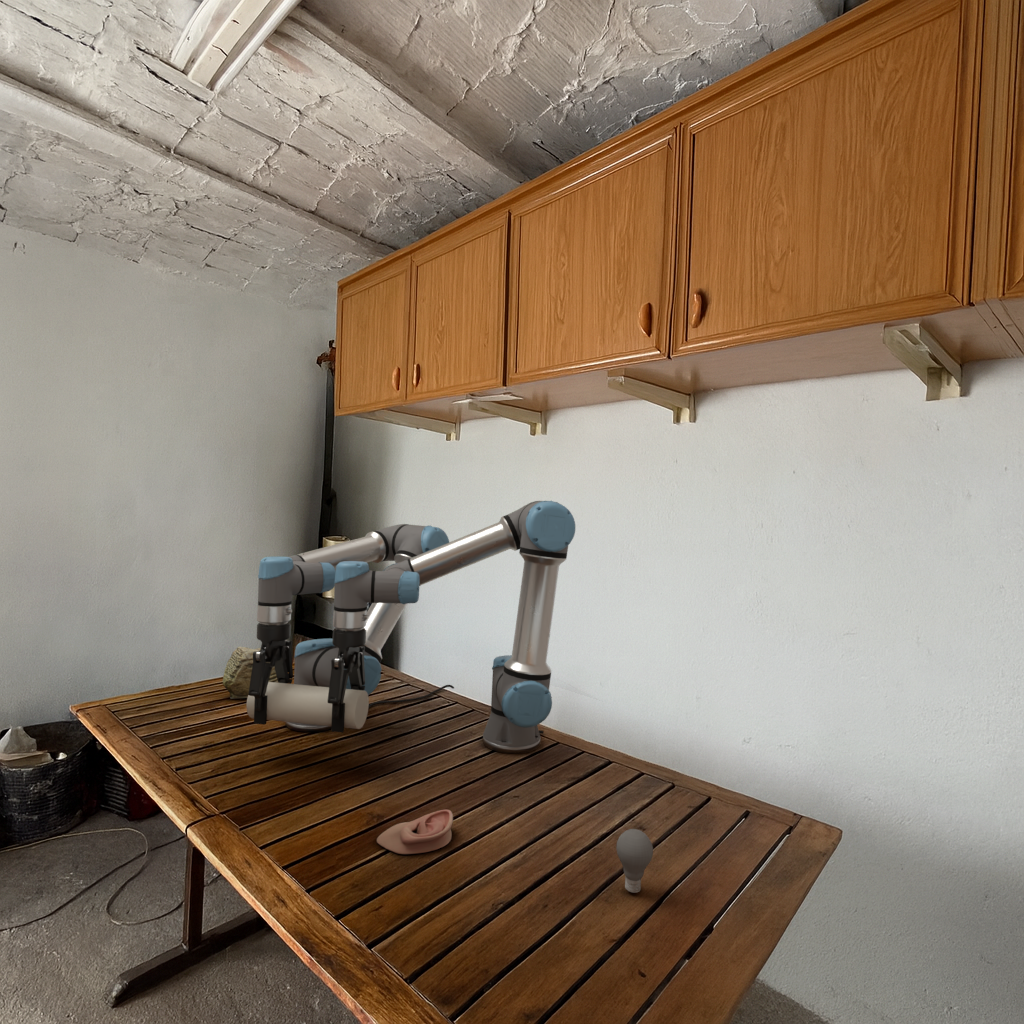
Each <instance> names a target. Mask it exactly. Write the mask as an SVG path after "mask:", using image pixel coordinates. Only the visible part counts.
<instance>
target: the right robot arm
mask: <svg viewBox="0 0 1024 1024" xmlns="http://www.w3.org/2000/svg"><path fill="white" fill-rule="evenodd" d="M575 534H576V521H575V518H574V515H573V514H572V512H571V511H570V509H568V508H567V507H566V506H565V505H563V504H561V503H559V502H558V501H554V500H534V501H531V502H529V503H527V504H525V505H523V506H521V507H519V508H518V509H516V510H514V511H512V512H510V513H508V514H506V515H503V516H501V517H500V519H499V521H498V522H496V523H493V524H491V525H489V526H486V527H484V528H482V529H479V530H477V531H474V532H472V533H469V534H467V535H463V536H462V537H459V538H456V539H454V540H452V541H449V543H447V544H444V545H442V546H439V547H437V548H434V549H432V550H430V551H427V552H425V553H422V554H420V555H417V556H415V557H412V558H410V559H408V560H405V561H403V562H400V563H397V564H396V563H391V564H390V565H387V566H386V567H385V568H384V569H383V570H370V566H369V562H362V561H343V562H340V563H339V564H337V566H336V574H335V581H334V583H335V585H334V588H333V590H334V591H333V592H334V593H333V594H334V595H333V614H332V615H333V617H332V626H333V627H334V628H333V630H332V639H333V645H334V646H337V647H338V648H339V651H338V656H337V658H332V660H331V677H330V685H329V693H328V703H332V725H331V729H330V731H331V732H332V733H342V734H343V733H344V732H345V728H344V717H345V703H343V700H344V695H345V691H346V686H347V681H348V676H349V680H350V686H351V689H353V690H365V686H362V685H365V666H364V651H365V647H364V646H363V645H364V644H365V643H366V629H365V628H364V627H365V626H366V619H368V615H367V611H368V604H372V603H400V604H407V605H408V604H416V603H418V601H420V587H421V586H422V585H425V584H428V583H430V582H433V581H436V580H437V579H440V578H443V577H444V576H445V577H446V576H448V575H449V574H453V573H454V572H457V571H460V570H462V569H465V568H467V567H469V566H472V565H473V564H477V563H479V562H481V561H484V560H486V559H489V558H491V557H494V556H496V555H499V554H501V553H504V552H506V551H508V550H512V551H515V552H516V551H518V550H519V552H518V554H519V555H520V556H521V558H522V559H523V570H522V577H521V585H520V592H519V599H518V606H517V615H516V619H515V628H514V629H515V630H514V637H513V643H512V651H511V655H499V656H496V657H495V658H493V662H492V666H491V670H492V678H491V679H492V680H491V681H492V683H491V701H490V702H491V703H490V714H489V717H488V719H487V723H486V725H485V727H484V728H485V729H484V730H483V733H482V744H483V745H484V747H486V748H487V749H489V750H491V751H494V752H498V753H502V754H526V753H531V752H534V751H535V750H537V749H538V748H539V747H540V746H541V735H543V734H544V733H545V731H544V730H541V729H539V725H540V724H541V723H542V722H544V721H546V719H547V718H548V717H549V715H550V713H551V711H552V708H553V699H552V698H553V697H552V694H551V691H550V687H551V677H552V668H551V667H550V666H549V664H548V662H547V660H548V653H549V645H550V639H551V638H550V637H551V630H552V625H553V624H552V623H553V615H554V610H555V609H554V607H555V601H556V593H557V586H558V578H559V571H560V566H561V564H563V563H564V562H566V560H567V557H568V553H569V552H568V551H569V550H568V549H569V545H570V544H571V542H572V541H573V539H574V537H575ZM346 669H347V670H346Z"/></svg>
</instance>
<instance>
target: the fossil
mask: <svg viewBox="0 0 1024 1024" xmlns="http://www.w3.org/2000/svg"><path fill="white" fill-rule="evenodd" d="M260 649H261V647H258V648H251V647H247V646H246V647H245V646H238V647H237V648H236V649H235V650H233V651H232V653H231V656H230V657H229V659H228V660H227V663H226V666H225V668H224V671H223V675H222V676H223V677H222V685H223V687H224V688H225V690H226V691H228V693H229V698H230V699H247V698H248V695H249V687H250V680H251V673H252V666H253V652H254V651H257V652H258V651H260ZM266 663H267V662H266ZM269 682H276V683H279V682H278V680H277V676H276V672H275V667H273V668H272V670H271V674H270V678H269Z"/></svg>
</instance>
